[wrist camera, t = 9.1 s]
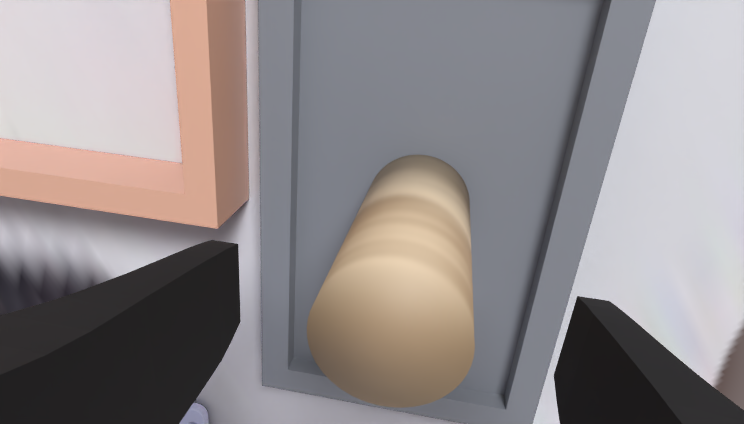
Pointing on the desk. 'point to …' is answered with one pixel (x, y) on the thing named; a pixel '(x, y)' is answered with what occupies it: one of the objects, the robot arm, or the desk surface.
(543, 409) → the desk surface
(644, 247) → the desk surface
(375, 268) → the dowel pin
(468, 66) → the grey tray
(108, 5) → the desk surface
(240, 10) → the salmon square tray
